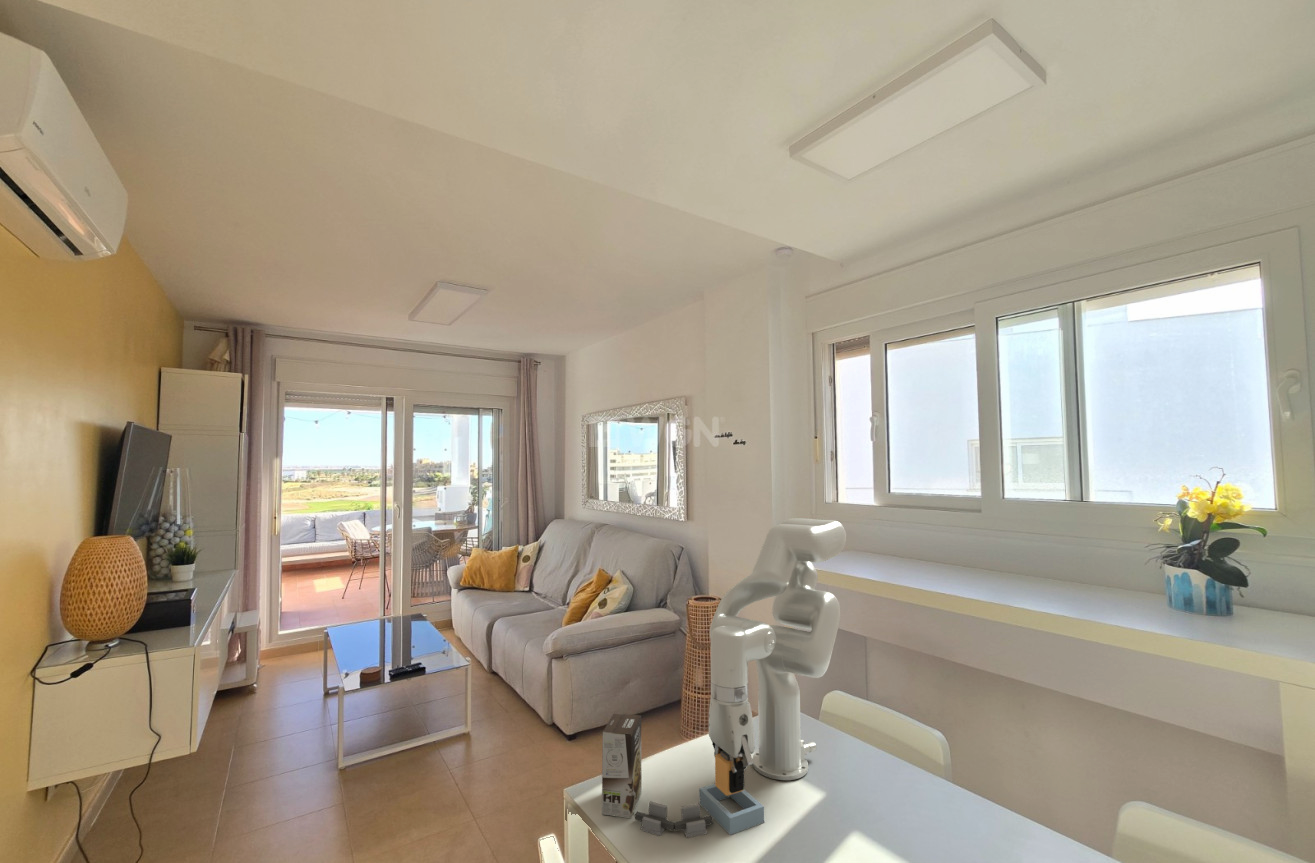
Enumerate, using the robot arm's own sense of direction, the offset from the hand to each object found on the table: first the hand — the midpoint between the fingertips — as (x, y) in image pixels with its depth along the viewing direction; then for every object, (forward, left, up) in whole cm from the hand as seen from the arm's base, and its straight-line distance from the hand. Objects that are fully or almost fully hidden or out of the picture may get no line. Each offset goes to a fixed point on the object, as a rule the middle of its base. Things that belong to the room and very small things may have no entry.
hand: (729, 783), depth 111 cm
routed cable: (+12, -3, -5) cm, 13 cm away
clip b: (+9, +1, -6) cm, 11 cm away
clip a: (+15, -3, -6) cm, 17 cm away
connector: (0, 0, -1) cm, 1 cm away
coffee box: (+18, -13, -6) cm, 23 cm away
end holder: (0, 0, -6) cm, 6 cm away
